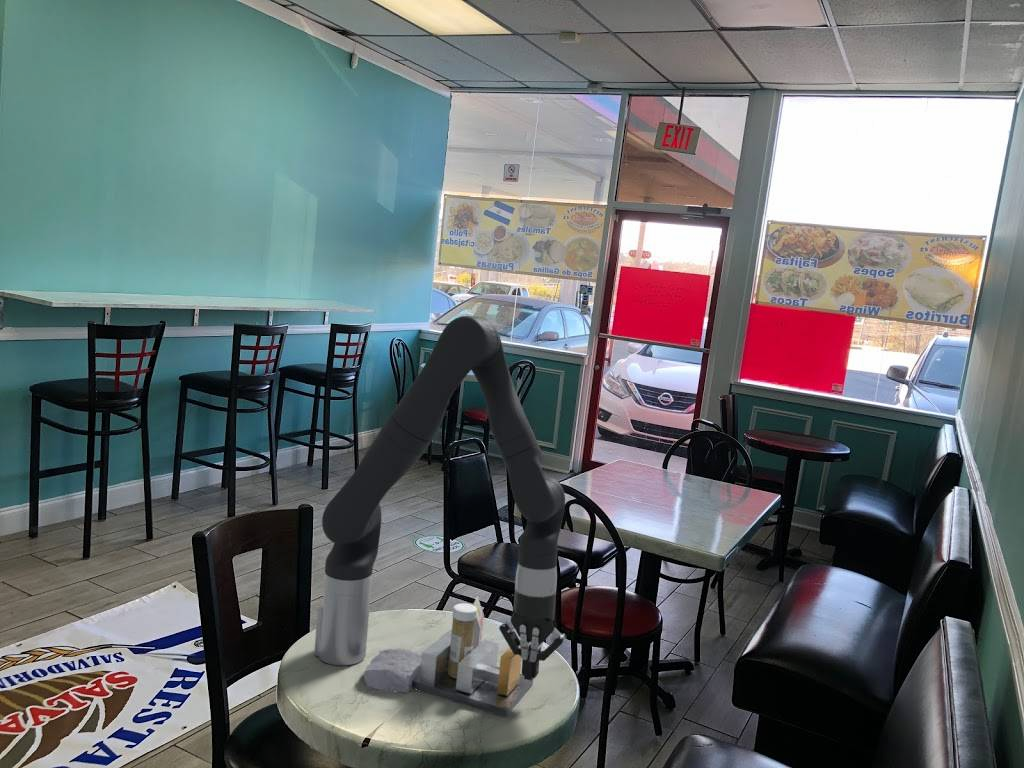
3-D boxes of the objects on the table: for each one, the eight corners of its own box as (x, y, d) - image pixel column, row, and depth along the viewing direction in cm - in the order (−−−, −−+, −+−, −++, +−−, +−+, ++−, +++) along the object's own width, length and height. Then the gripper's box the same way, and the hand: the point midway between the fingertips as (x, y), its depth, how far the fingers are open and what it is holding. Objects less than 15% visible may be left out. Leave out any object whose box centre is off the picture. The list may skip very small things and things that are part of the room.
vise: (411, 688, 152) (415, 652, 151) (445, 659, 165) (448, 626, 164) (505, 717, 145) (509, 680, 144) (532, 684, 158) (536, 650, 157)
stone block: (360, 696, 151) (411, 695, 149) (357, 671, 150) (409, 670, 149) (381, 670, 162) (429, 669, 161) (379, 646, 162) (427, 645, 160)
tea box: (459, 653, 168) (464, 607, 167) (464, 639, 175) (468, 595, 174) (477, 655, 168) (482, 609, 167) (481, 641, 174) (485, 597, 173)
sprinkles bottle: (473, 679, 154) (479, 611, 153) (449, 680, 153) (456, 612, 151) (467, 668, 159) (473, 602, 157) (444, 669, 157) (450, 602, 156)
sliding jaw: (455, 689, 149) (459, 653, 148) (482, 663, 160) (485, 629, 160) (500, 702, 146) (504, 665, 145) (524, 675, 157) (528, 641, 156)
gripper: (576, 588, 149) (569, 678, 151) (509, 575, 154) (504, 662, 156) (563, 601, 142) (556, 695, 144) (494, 587, 147) (488, 678, 149)
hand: (529, 678), depth 150 cm, fingers closed
